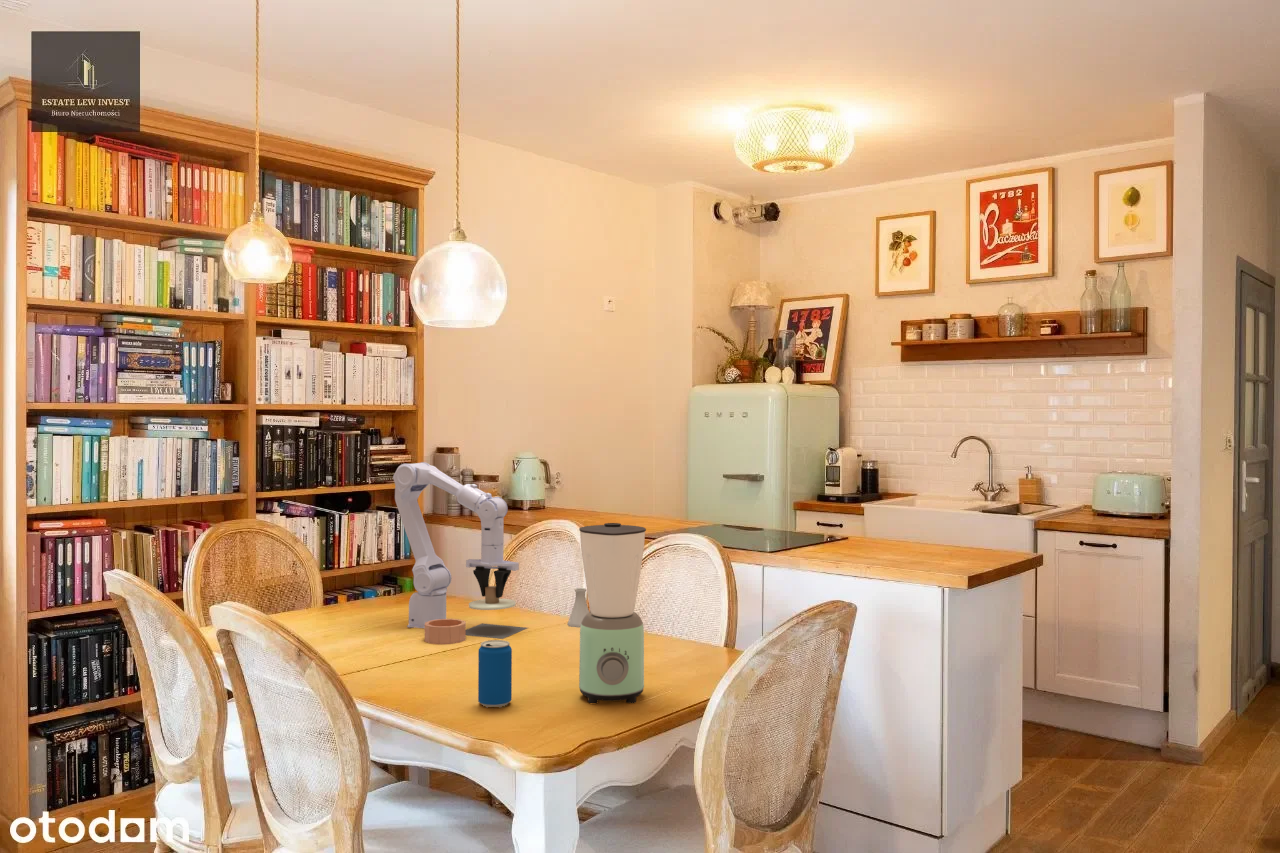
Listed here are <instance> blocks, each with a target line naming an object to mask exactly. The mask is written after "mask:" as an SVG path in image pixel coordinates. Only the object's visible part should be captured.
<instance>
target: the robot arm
mask: <svg viewBox="0 0 1280 853" xmlns="http://www.w3.org/2000/svg"><path fill="white" fill-rule="evenodd" d="M392 478H393V481H394V486H395V488H394V501H395V504H396V506H397V508H396V509H397V510H398V512H399V516H400V519H401V523H402V525H403V528H404V531H405V534H406V536H407V540H408V543H409V545H410V549H411V552H412V554H413V557H414V560H415V562H414V565H413V567H412V569H411V572H412V574H413V586H414V589H415V590H416V592H413V593H412V594H411V595H410V598H409V601H408V625H406V628H410V629H411V628H412V629H414V628H417V629H425V622H428V621H431V620H437V619H447V592H448V587H449V586H450V584H451V583H452V578H453V577H452V574H451V571H450V570H449V568H448V567H447V566H446V565H445V563H444V560H443V559H442V558H441V557H439V556H438V555H437V554H436V551H435V549H434V546H433V543H432V540H431V538H430V534H429V532H428V529H427V525H426V523H425V522H426V521H425V520H424V517H423V514H422V511H421V508H420V505H419V502H418V499H419V496H420V495H421V493H422V492H423V491H424V490H425V489H426V488H427V487H428V486H429V485H433V486H435V487H437V488H439V489H440V490H443V491H445V492H447V493H448V494H451V495H453V496H455V498H456V501H457V503H459V505H462V506H463V507H465V508H467V509H469V510H471V512H474V513H475V514H477V516H478V518H479V520H480V526H481V527H480V528H481V529H480V530H481V534H480V536H481V539H480V540H481V541H480V542H481V543H480V546H481V548H480V551H481V552H480V559H479V558H477V559H474V558H469V559H466V560H465V567H466V568H475V569H473V570H472V572H473V575H474V577H475V578H476V580H477V583H478V586H479V589H480V593H481V597H483V598H485V587H488V586H490V584H489V581H490V573H491V571H492V570H493V574H494V580H495V586H496V598H499V599H501V598H502V597H503V594H504V589H505V586H506V583H507V581H508V578H509V577H510V575H511V574H512V572H514V571H515V572H516V571H519V570H520V568H519V567H520V563H519V562H518V561H512V560H511V561H510V560H504V542H505V541H504V525H505V524H504V520H505V519H504V517H505V516H506V515H507V514H508V504H507V502H506V501H505V500H504V499H503V498H502V497H501V496H495V497H493V496H492V493H490V492H485V491H483V490H481V489H479V488H478V485H477V484H475V483H472V484H470V483H466V484H462V483H460V482H458V481H457V480H455V479H454V478H452V477H451V476H450V475H448V474H445V472H443V471H441V470H440V469H438V468H437V466H435V465H430V464H429V463H428V462H425V461H421V462H417V463H415V462H414V463H401V464H400V465H399V466H398V467H397V468H396V470H395V472H394V474H393V476H392Z"/></svg>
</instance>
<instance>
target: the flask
mask: <svg viewBox="0 0 1280 853" xmlns="http://www.w3.org/2000/svg"><path fill="white" fill-rule="evenodd" d="M574 592H575V598H574V603H573V606H572V610H571V612H570V615H569V618H568V622H567V626H568V627H569V628H570V627H571V628H580V627H581V622H582V620H583V618H584V617H585V615H586V614H587V613H589V612H590V609H589V608H588V604H587V598H586V593H587V588H586V587H585V588H583V587H579V588H578V587H576V588H574Z"/></svg>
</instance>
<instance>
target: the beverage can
mask: <svg viewBox="0 0 1280 853" xmlns="http://www.w3.org/2000/svg"><path fill="white" fill-rule="evenodd" d="M510 644H511V643H510V642H509V641H508V640H504V639H501V640H500V639H494V640H493V639H492V640H490V639H489V640H485V641H482V642H480V647H479V648H478V662H477V664H478V666H477V667H478V668H477V670H478V671H477V672H478V673H477V674H478V677H477V678H478V680H477V681H478V682H477V684H478V686H477V690H478V691H477V692H478V693H477V694H478V696H477V700H478V704H481V705H483V706H482V707H484V706H486V707H485V708H488V707H499V708H503V707H502V706H504V707H506V706H508V704H509V703H510V702H512V694H513V693H512V690H513V687H512V685H513V684H512V681H513V680H512V675H513V674H512V672H513V671H512V670H513V668H512V664H513V663H512V659H513V657H512V656H513V649H512V647H511V646H510ZM505 705H506V706H505Z"/></svg>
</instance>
